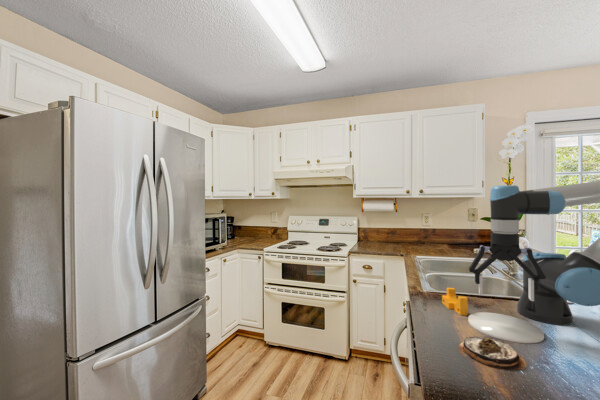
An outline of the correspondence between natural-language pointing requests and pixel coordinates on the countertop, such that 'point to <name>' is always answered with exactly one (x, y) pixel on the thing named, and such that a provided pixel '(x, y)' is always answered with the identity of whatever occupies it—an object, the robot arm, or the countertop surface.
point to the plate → (506, 327)
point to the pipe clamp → (455, 302)
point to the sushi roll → (492, 352)
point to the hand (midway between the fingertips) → (505, 296)
